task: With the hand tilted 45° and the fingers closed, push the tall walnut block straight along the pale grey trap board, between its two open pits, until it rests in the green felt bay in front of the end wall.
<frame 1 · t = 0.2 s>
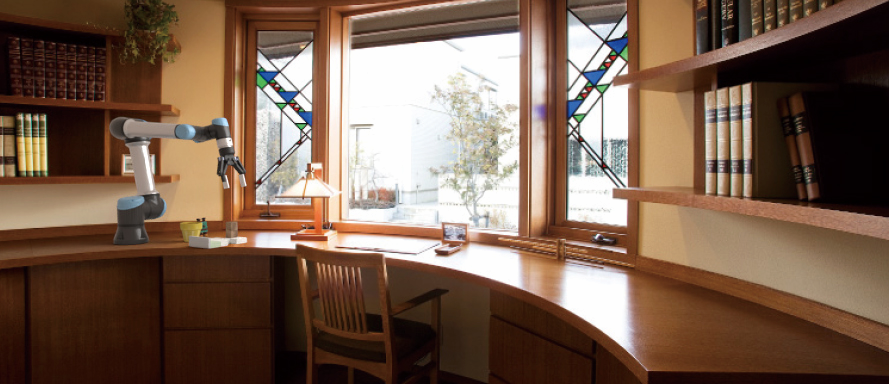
hand: (235, 187, 261), 28 cm above the table, tool pointing down, fingers open, 13 cm apart
walnut block: (231, 237, 260), point 2 cm above the table, touching trap board
binoculars: (197, 237, 280), on the table
plant pot: (191, 241, 262), on the table
trap board: (219, 244, 253), on the table
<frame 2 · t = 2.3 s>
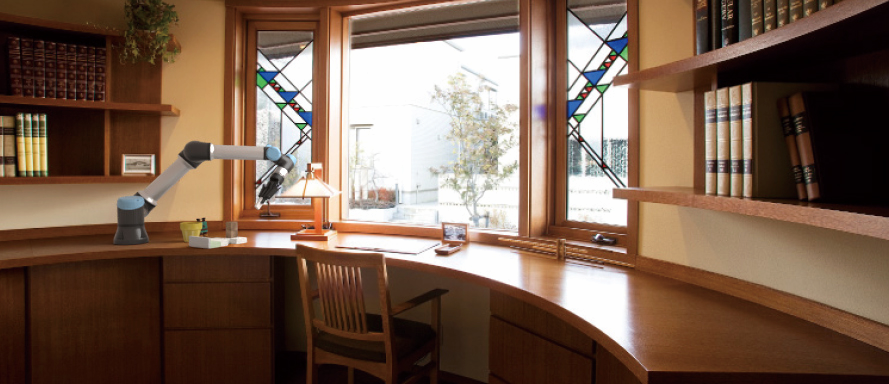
hand: (256, 207, 274), 17 cm above the table, tool tilted 45°, fingers closed
nothing on the table moved.
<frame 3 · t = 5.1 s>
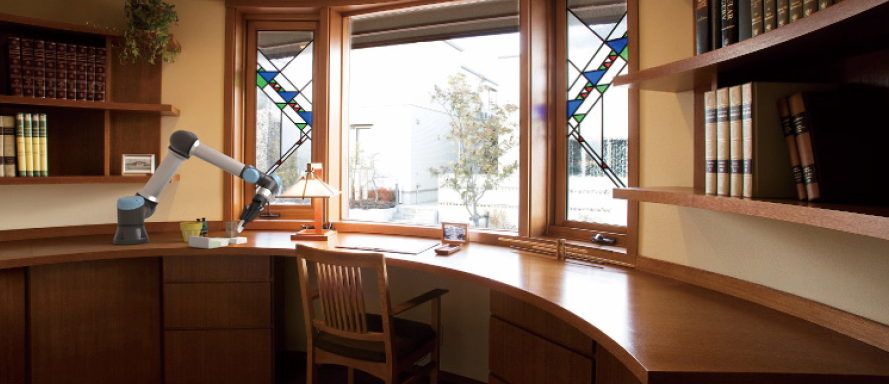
hand: (237, 231, 262), 5 cm above the table, tool tilted 45°, fingers closed
walnut block: (231, 237, 260), point 3 cm above the table, touching gripper
everything else where it was.
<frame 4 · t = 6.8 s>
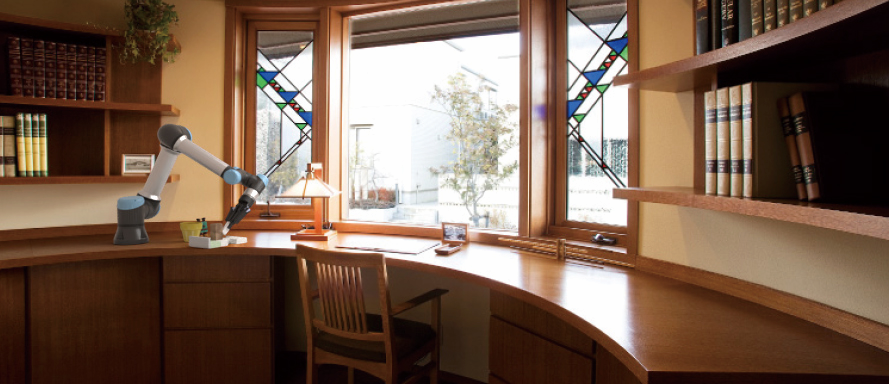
hand: (222, 233, 253), 5 cm above the table, tool tilted 45°, fingers closed
walnut block: (216, 239, 251), point 3 cm above the table, touching gripper, trap board
everything else where it was.
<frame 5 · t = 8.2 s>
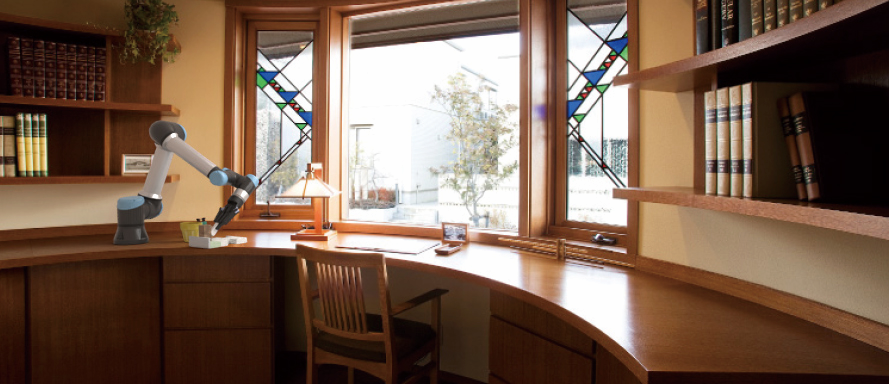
hand: (210, 234, 248), 6 cm above the table, tool tilted 45°, fingers closed
walnut block: (205, 241, 245), point 2 cm above the table, touching trap board
everything else where it was.
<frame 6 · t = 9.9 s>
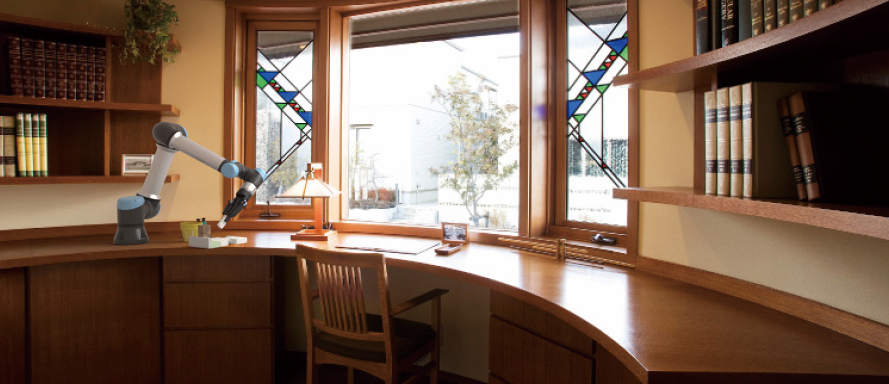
hand: (219, 226, 252), 9 cm above the table, tool tilted 45°, fingers closed
nothing on the table moved.
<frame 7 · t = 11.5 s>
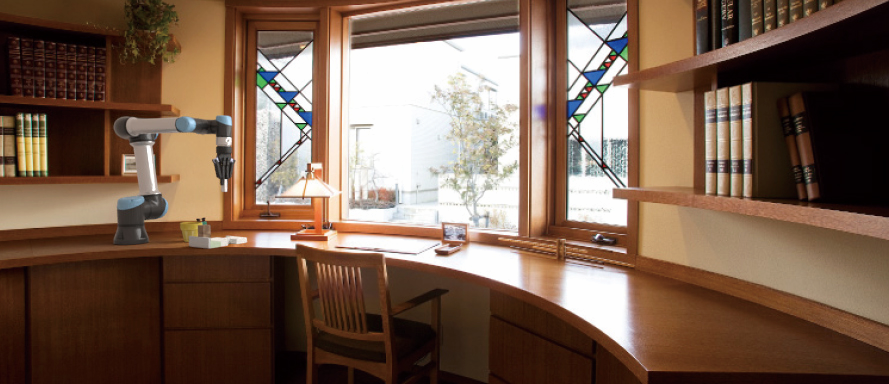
hand: (224, 191, 259), 26 cm above the table, tool pointing down, fingers closed
nothing on the table moved.
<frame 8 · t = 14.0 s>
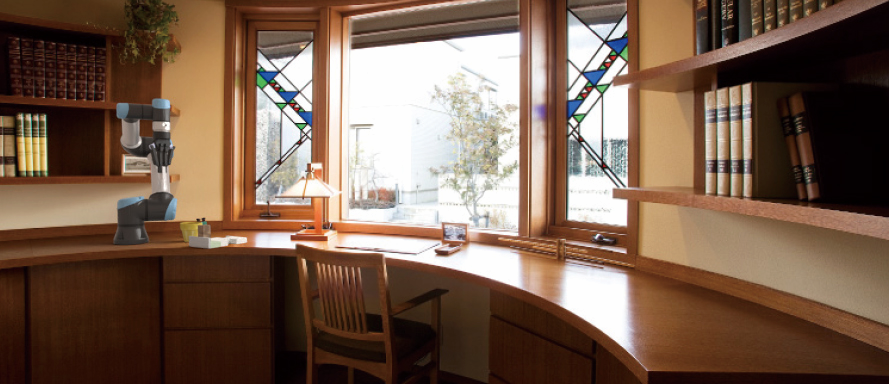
hand: (162, 179, 244), 32 cm above the table, tool pointing down, fingers closed
nothing on the table moved.
at the end: walnut block inside the target area (0.9 cm from its centre), point 2.5 cm above the table; walnut block tilted 0°; the gripper is holding nothing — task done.
